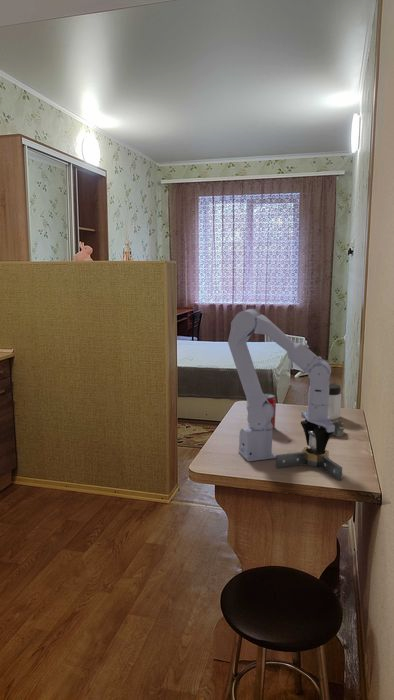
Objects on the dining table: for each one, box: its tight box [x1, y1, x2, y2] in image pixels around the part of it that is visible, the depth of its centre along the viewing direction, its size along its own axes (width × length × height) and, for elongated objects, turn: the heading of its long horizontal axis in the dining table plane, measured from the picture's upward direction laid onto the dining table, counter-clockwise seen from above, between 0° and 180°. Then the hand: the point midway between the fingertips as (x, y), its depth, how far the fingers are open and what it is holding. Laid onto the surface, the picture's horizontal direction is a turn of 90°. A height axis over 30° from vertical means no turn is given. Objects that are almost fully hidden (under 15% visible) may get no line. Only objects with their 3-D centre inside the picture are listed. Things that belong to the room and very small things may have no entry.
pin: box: [307, 428, 322, 455], centre depth 145 cm, size 5×5×7 cm
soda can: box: [263, 393, 277, 430], centre depth 175 cm, size 6×6×12 cm
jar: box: [328, 383, 342, 421], centre depth 189 cm, size 9×8×12 cm
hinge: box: [275, 446, 343, 481], centre depth 140 cm, size 16×16×4 cm
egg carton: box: [318, 419, 345, 437], centre depth 172 cm, size 11×8×4 cm
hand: (315, 448), depth 145 cm, fingers closed on pin, 5 cm apart
